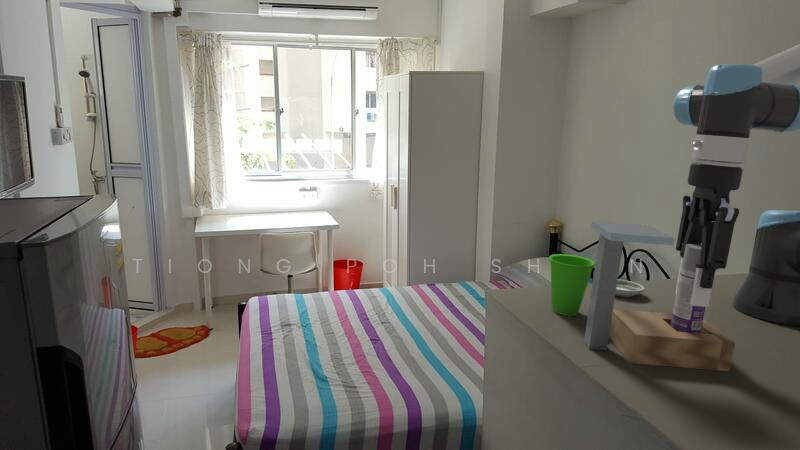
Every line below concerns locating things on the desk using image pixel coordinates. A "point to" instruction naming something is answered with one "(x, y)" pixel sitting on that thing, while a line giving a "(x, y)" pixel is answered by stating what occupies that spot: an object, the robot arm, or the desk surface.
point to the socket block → (669, 342)
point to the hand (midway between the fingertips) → (691, 299)
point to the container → (687, 294)
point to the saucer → (628, 288)
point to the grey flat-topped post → (612, 274)
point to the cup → (569, 281)
